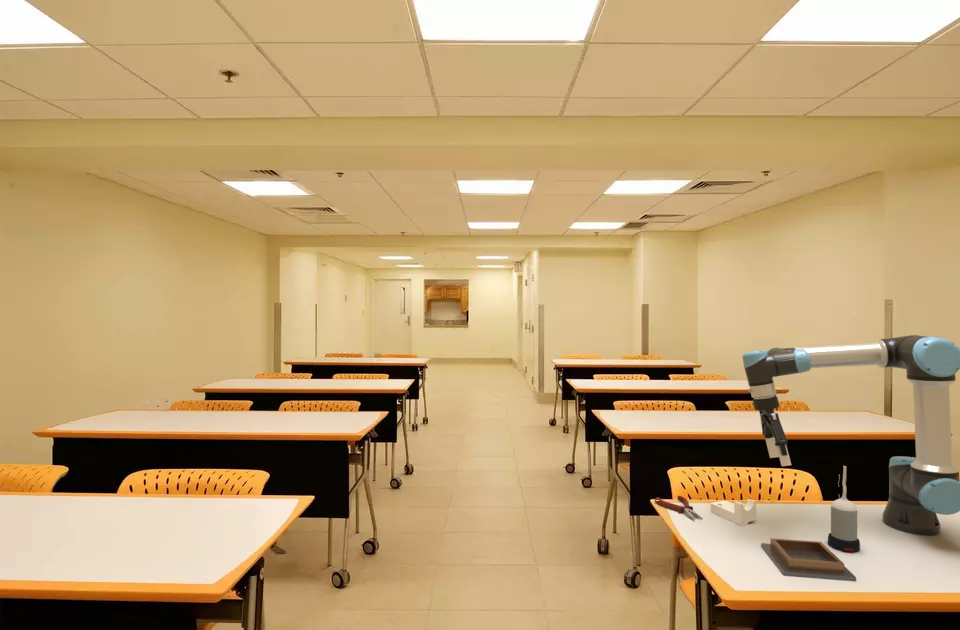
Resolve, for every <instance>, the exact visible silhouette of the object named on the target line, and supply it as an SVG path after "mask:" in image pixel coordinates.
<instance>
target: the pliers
mask: <svg viewBox="0 0 960 630" xmlns="http://www.w3.org/2000/svg"><path fill="white" fill-rule="evenodd" d="M656 500H659V501H656ZM654 501H655V503H656V504H657V505H658V506H659V507H662V508H665V509H668V510H671V511H673V512H677V513H678V514H679V515H681V514H684V515H685V516H687V517H688V518H691V519H692V520H694V521H696V519H699V520H704V519H703V517H702V516H701V515H700V514H698V513H697V512H696V511H694V507H693V506H691V505H690V504H689V500H688V499H686V498H685V497H684V496H681V495H677V501H679V502H680V503H682V504H683V505H684V506H683V505H678V504H676V503H673V502H669V501H665V500H663V499H662V498H660V497H656V498H655V500H654Z"/></svg>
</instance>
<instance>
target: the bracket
mask: <svg viewBox="0 0 960 630" xmlns="http://www.w3.org/2000/svg"><path fill="white" fill-rule="evenodd" d="M710 513H712V514H714V515H716V516H718V517H720V518H723V519H725V520H727V521H729V522H731V523H734V524H736V525H738V526H746V525H749V523H751V522H755V521H757V501H756V500H753V499H751V498H747V501H746V504H745V506H744V504H743V503H741V502H739V501H734V502H730V501H727V500H721V501H716V502H715V501H714V502H710Z"/></svg>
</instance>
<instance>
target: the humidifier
mask: <svg viewBox="0 0 960 630" xmlns="http://www.w3.org/2000/svg"><path fill="white" fill-rule="evenodd" d="M842 472H843V473H842V483H841V484H842V496H841V497H840V495H838V497H839V498H837V499H835V500H834V501H832V503H831V506H830V532H829V533H828V534H827V535H828V536H827V544H828V546H829V547H830V548H832V549H834V550H836V551H839V552H843V553H847V554H848V553H849V554H850V553H851V554H855V553H859V552H860V551H861V543H860V539H859V538H858V508H857V507H856V505H855V504H854V503H853V502H852V501H850V500H848V498H847V485H846V483H847V466H845V465H843V470H842ZM840 477H841V476H840V475H838V479H839V480H838V482H837V484H838V486H840V485H839V483H840V479H841V478H840Z"/></svg>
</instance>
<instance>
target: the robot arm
mask: <svg viewBox="0 0 960 630" xmlns="http://www.w3.org/2000/svg"><path fill="white" fill-rule="evenodd" d="M742 363H743V369H744V372H745V374H746V378H747V379H746V380H747V383H748V387H749V389H747V391H748V392H749V393H750V394H751V398H753V399H752V405H753V407H754V410H755V411H758V412H759V416H760V424H761V432H762V435H763V436H764V439H765V443H766V447H767V451H768V455H769V458H770V459H772V458H773V459H774V458H779V461H780V466H781V467H787V466H792V463H791V457H790V454H789V451H788V447H787V445H788V440H787V439H788V438H787V436H786V434H785V432H784V428H783V425H782V423H781V420H780V416H779V414H778V412H775V409H778V408H780V402H779V397H778V396H776V395H777V389H776V385H775V382H774V378H777V377H782V376H788V375H794V374H795V375H796V374H802V373H806V372H809V371H810V370H812V369H815V368H816V369H818V368H836V367H837V368H838V367H839V368H840V367H857V366H860V367H861V366H878V367H880V368H896V369H897V368H898V369H903V370H906V379H907V381H909V382H910V383H911V384H912V388H913V393H912V394H913V409H914V410H913V415H914V416H913V417H914V435H915V437H914V438H915V439H914V440H915V457H914V456H912V457H911V456H903V455H901V456H900V455H899V456H892V457H891V458H890V459H889V465H888V477H889V478H888V482H889V483H888V485H889V487H888V488H889V490H888V491H889V492H888V494H889V495H888V501H887V503H886V506H885V507H884V509H883V513H882V522H883V523H884V524H886V525H887V526H889V527H891V528H894V529H896V530H899V531H903V532H906V533H910V534H914V535H915V534H916V535H924V536H925V535H926V536H933V535H939V534H940V533H941V523H940V521H939V518H938V515H944V516H948V515H949V516H950V515H954V514H957V513H960V469H959V468H958V467H957V466H956V465H954V463H953V449H952V426H951V404H950V403H951V402H950V400H951V398H950V396H951V395H950V386H951V385H952V384H953V383H955V382H956V374H957V373H958V371H959V370H960V348H959V346H958V345H957V344H956V343H955V342H953V341H951V340H949V339H946V338H942V337H939V336H931V335H929V336H928V335H917V334H915V335H914V334H913V335H911V334H910V335H903V336H897V337H888V338H879V339H875V340H874V342H864V343H847V344H830V345H815V346H814V345H813V346H800V347H799V346H798V347H787V348H786V347H785V348H782V347H781V348H780V347H772V348H771V347H770V348H768V349H767V350H765V349H760V350H755V351H748V352H745V353H743V354H742ZM937 514H938V515H937Z"/></svg>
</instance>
